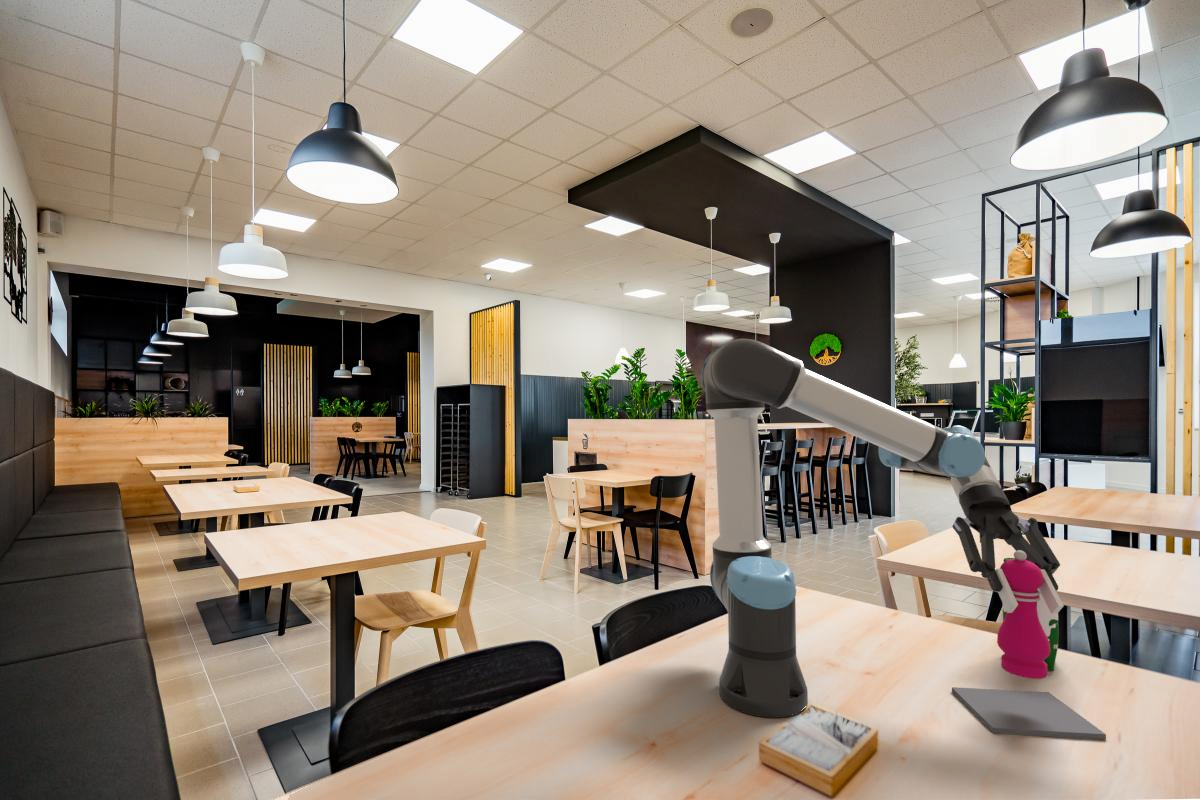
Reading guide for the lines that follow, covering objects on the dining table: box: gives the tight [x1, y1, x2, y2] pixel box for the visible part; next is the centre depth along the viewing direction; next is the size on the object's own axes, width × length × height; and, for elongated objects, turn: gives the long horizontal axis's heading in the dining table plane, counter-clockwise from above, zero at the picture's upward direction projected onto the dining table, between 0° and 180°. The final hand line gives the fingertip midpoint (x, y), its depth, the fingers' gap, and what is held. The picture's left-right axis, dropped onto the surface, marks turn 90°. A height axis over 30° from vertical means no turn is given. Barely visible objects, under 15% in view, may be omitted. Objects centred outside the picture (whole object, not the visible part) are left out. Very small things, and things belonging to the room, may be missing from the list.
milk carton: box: [1002, 557, 1060, 672], centre depth 119 cm, size 9×9×20 cm
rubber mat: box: [951, 686, 1107, 740], centre depth 97 cm, size 16×14×1 cm
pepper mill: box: [996, 550, 1051, 680], centre depth 98 cm, size 7×7×20 cm
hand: (1034, 609), depth 94 cm, fingers closed on pepper mill, 6 cm apart
